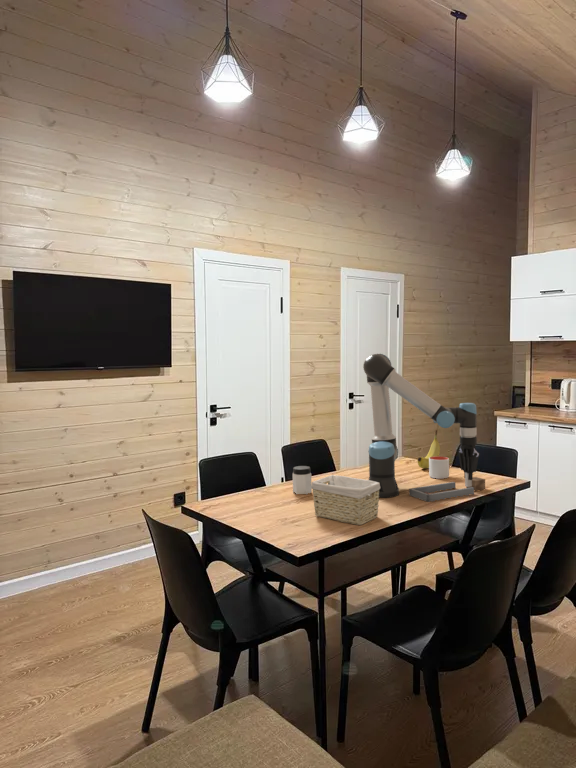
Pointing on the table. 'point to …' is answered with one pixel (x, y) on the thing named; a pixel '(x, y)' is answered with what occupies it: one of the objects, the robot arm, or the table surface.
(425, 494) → the trough
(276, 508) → the table surface
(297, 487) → the jar
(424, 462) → the banana
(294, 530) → the table surface
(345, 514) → the storage basket
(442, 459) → the cup
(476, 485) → the walnut block
